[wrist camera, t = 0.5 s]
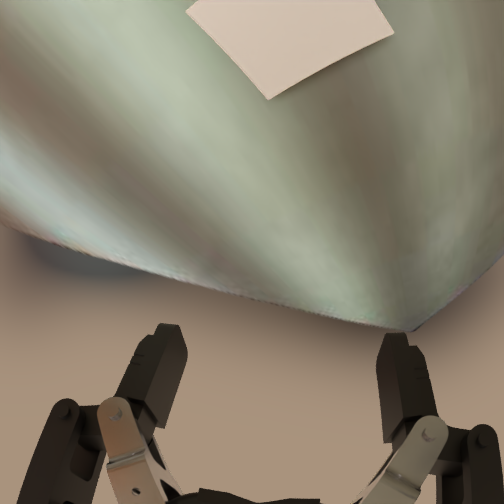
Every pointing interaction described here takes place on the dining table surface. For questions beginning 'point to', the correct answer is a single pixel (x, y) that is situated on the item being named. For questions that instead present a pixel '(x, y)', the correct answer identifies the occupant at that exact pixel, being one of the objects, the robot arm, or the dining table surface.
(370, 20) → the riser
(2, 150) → the dining table surface
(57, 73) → the dining table surface
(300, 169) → the dining table surface
